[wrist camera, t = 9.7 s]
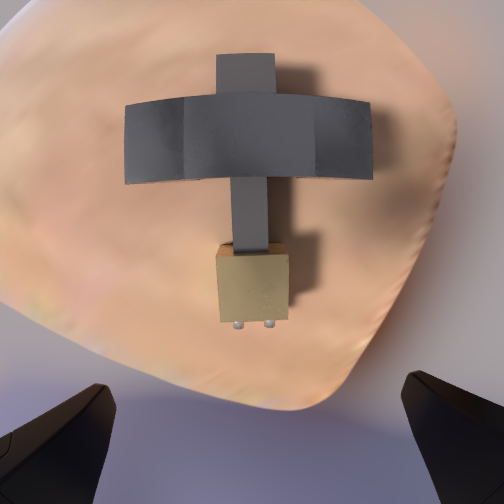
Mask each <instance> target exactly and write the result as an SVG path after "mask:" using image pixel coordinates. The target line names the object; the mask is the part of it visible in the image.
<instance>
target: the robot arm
mask: <svg viewBox="0 0 504 504" xmlns="http://www.w3.org/2000/svg"><path fill="white" fill-rule="evenodd" d="M401 399H402V402H403V405H404V408H405V411H406V414H407V417H408V421H409V424H410V427H411V430H412V433H413V436H414V438H415V441H416V443H417V445H418V447H419V450H420V452H421V454H422V457H423V459H424V462H425V464H426V466H427V469H428V471H429V474H430V476H431V479H432V481H433V484H434V486H435V489H436V492H437V494H438V497H439V500H440V502H441V504H504V407H503V406H501V405H498V404H496V403H493V402H491V401H489V400H486V399H484V398H481V397H479V396H477V395H475V394H472V393H470V392H468V391H465V390H463V389H461V388H459V387H456V386H454V385H452V384H449V383H447V382H445V381H443V380H441V379H438V378H436V377H434V376H432V375H430V374H427V373H425V372H423V371H420V370H418V371H414V372H410V373H409V374H408V375H407V377H406V380H405V383H404V386H403V388H402V391H401ZM115 414H116V404H115V401H114V399H113V396H112V394H111V391H110V389H109V387H108V386H107V385H104V384H98V383H95V384H93V385H91V386H90V387H88V388H86V389H85V390H83V391H82V392H80V393H79V394H77V395H75V396H73V397H71V398H70V399H68V400H66V401H65V402H63V403H61V404H59V405H58V406H56V407H54V408H53V409H51V410H49V411H47V412H46V413H44V414H42V415H40V416H39V417H37V418H35V419H33V420H32V421H30V422H28V423H26V424H24V425H23V426H21V427H19V428H17V429H15V430H14V431H13V432H10V433H8V434H6V435H4V436H3V437H1V438H0V504H92V503H93V499H94V496H95V492H96V488H97V485H98V482H99V478H100V475H101V471H102V468H103V465H104V462H105V459H106V455H107V452H108V448H109V443H110V438H111V433H112V428H113V423H114V419H115Z"/></svg>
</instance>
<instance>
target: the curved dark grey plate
mask: <svg viewBox="0 0 504 504" xmlns="http://www.w3.org/2000/svg"><path fill="white" fill-rule="evenodd" d="M124 170H125V185H126V184H148V183H164V182H177V181H193V180H200V179H205V178H229V177H296V178H313V179H351V180H373V143H372V124H371V110H370V103H369V102H363V101H356V100H349V99H341V98H333V97H323V96H312V95H297V94H272V93H240V94H216V95H201V96H190V97H180V98H171V99H164V100H157V101H150V102H144V103H138V104H132V105H127V106H125V131H124Z"/></svg>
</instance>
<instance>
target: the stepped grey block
mask: <svg viewBox="0 0 504 504" xmlns="http://www.w3.org/2000/svg"><path fill="white" fill-rule="evenodd" d="M240 93H272V94H277V88H276V70H275V54H274V53H241V54H220V55H216V94H240ZM230 181H231V207H232V231H233V253H239V252H265V251H268V204H267V177H230Z"/></svg>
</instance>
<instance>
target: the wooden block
mask: <svg viewBox="0 0 504 504" xmlns="http://www.w3.org/2000/svg"><path fill="white" fill-rule="evenodd" d="M216 270H217V284H218V297H219V309H220V321H221V322H233V328H234V329H242V328H244V322H249V321H264V326H265V327H266V328H273V327H274V326H275V320H287V319H288V295H289V254H288V252H287V251H286V249H285V248H284V246H283V244H282V243H268V251H265V252H239V253H233V245H220V246H219V249H218V252H217V255H216Z"/></svg>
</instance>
